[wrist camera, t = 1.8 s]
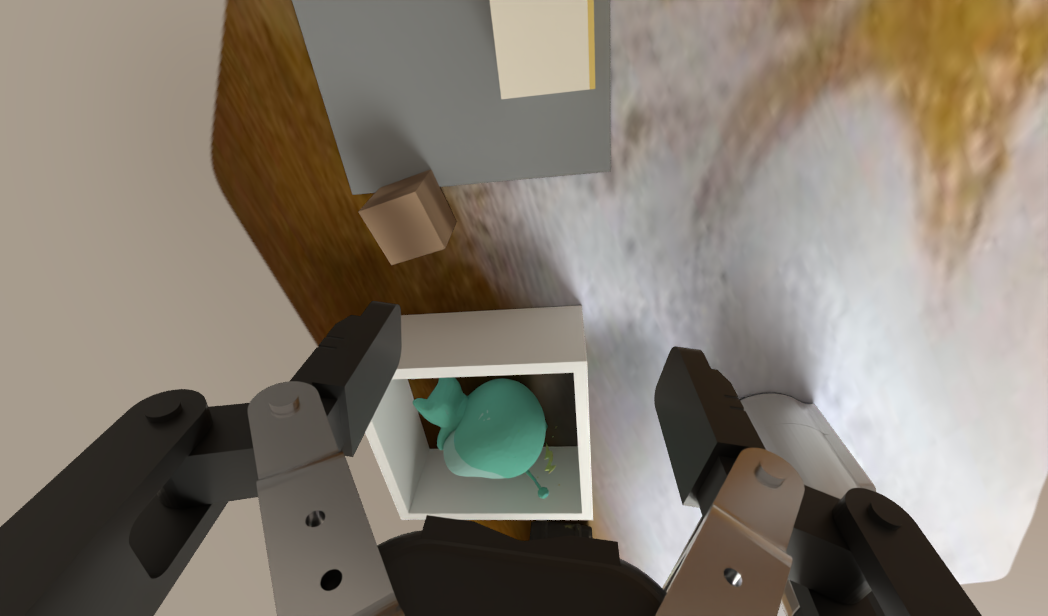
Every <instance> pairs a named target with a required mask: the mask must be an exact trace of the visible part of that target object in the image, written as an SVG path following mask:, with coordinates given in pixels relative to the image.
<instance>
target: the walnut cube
mask: <svg viewBox="0 0 1048 616" xmlns="http://www.w3.org/2000/svg"><path fill="white" fill-rule="evenodd" d="M358 212H359V214H360V215H361V217H362V219H363V220H364V222H365V223H366V225H367V227H368V228H369V230H370V232H371V233H372V235H373V236H374V238H375V240H376V241H377V243H378V244H379V246H380V248H381V249H382V251H383V252H384V254H385V256H386V257H387V259H388V261H389V262H390V264H391V265H394V264H397V263H400V262H404V261H407V260H410V259H413V258H417V257H420V256H423V255H427V254H430V253H433V252H436V251H440V250H443V249H445V248H446V245H447V243H448V241H449V239H450V236H451V234H452V232H453V229H454V227H455V225H456V219H455V217H454V215H453V213H452V211H451V209H450V207H449V205H448V203H447V201H446V199H445V197H444V195H443V193H442V191H441V189H440V186H439V184H438V182H437V180H436V178H435V176H434V174H433V172H432V170H431V169H430V170H428V171H425V172H422V173H419V174H417V175H414V176H411V177H408V178H405V179H403V180H400V181H397V182H394V183H392V184H389V185H386V186H383V187H381V188H379V189H378V190H377V191H376V193H375V194H374V195H373V196H372V197H371V198H370V199H369V200H368V201H367V203H366V204H365V205H364V206H363V207H362V208H361V209H360V210H359V211H358Z"/></svg>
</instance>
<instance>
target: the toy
mask: <svg viewBox="0 0 1048 616" xmlns="http://www.w3.org/2000/svg"><path fill="white" fill-rule="evenodd" d="M413 405H414V406H415V408H416V409H417V411H418V412H420V413H421V414H422V415H423V416H424V418H425V419H427V420H428V421H429V422H431V423H433V424H435V425H437V426H440V427H441V430H440V432H439V435H438V438H437V446H438V448H439V449H440V450H443V453H444V460H445V463H446V465H447V467H448V469H449V470H450V471H451V472H452V473H454V474H456V475H458V476H464V477H484V478H490V479H503V478H513V477H516V476H519V475H521V474H523V473H524V472H526V474H527V475H528V476H529V477H530V478H531V479H532V480H533V481H534V482H535V484H536V486H537V487H538V489H539V490H538V496H539V498H542V499H544V498H546V497H547V496H548V495H549V490H548V489H547V487H541V486H540V484H539V483H538V482H537V480H536V479H535V477H534V476H533V475H532V474H531V472H530V471H529V468H530V467H531V466H532V465H533V464H534V463H535V462H536V460H537V459H538V457H539V455H540V453H541V451H542V448H543V444H544V440H545V432H546V429H547V428H548V425H547V423H546V422H545V417H544V412H543V409H542V407H541V405H540V403H539V401H538V399H537V398H536V397H535V395H534V394H533V393H532V392H531V391H530V390H529V389H528V388H527V387H526V386H525V385H523V384H521V383H520V382H517V381H514V380H511V379H503V378H501V379H494V380H490V381H488V382H486V383H484V384H482V385H481V386H479V387H478V388H476V389H475V390H474V391H473V392H472V393H471V394H470V395H468V396H466V395H465V394H464V393H463V392H462V390H461V386H460V384H459V382H458V381H457V380H456V378H455V377H445V378H439V382H438V384H437V386H436V388H435V389H434V390H433V392H432V393H431V395H430V396H429V397H428V399H422V398H417V399H415V400H413ZM556 428H557V427H555V429H556ZM552 437H554V436H552ZM547 458H549V462H548V464H547V466H546V468H545V471H548V470H549V473H550V472H552V471H553V470H554V468H555V467H556V465H554V466H551V463H552V460H553V452H552V451H549V447H548V445H547V443H546V454H545V459H547ZM545 459H544V460H545ZM537 478H538V477H537ZM558 486H560V484H558Z"/></svg>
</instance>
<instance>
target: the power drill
mask: <svg viewBox="0 0 1048 616" xmlns="http://www.w3.org/2000/svg"><path fill="white" fill-rule="evenodd" d="M570 535H572V536H579V537H586V538H592V528H591V527H589V526H584V525H580V524H569V523H561V522H558V523H556V522H547V520H544V521H535V522H532V523H531V531H530V540H538V539H546V538H554V537H562V536H570ZM530 540H529V541H530Z"/></svg>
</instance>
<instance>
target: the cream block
mask: <svg viewBox="0 0 1048 616" xmlns="http://www.w3.org/2000/svg"><path fill="white" fill-rule="evenodd" d="M490 8H491V17H492V25H493V34H494V42H495V50H496V59H497V67H498V75H499V84H500V92H501V99H509V98H518V97H527V96H536V95H545V94H554V93H563V92H571V91H580V90H589V89H595V41H594V0H490Z"/></svg>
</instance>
